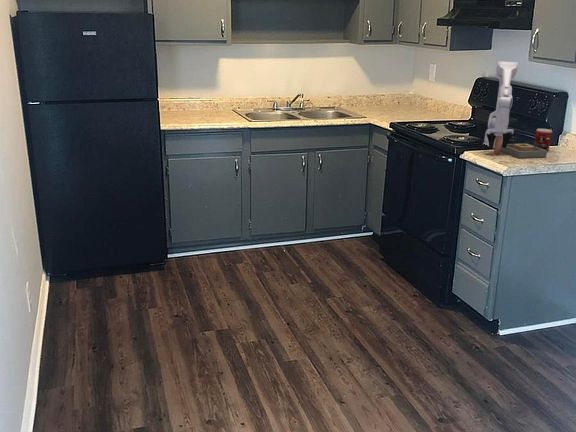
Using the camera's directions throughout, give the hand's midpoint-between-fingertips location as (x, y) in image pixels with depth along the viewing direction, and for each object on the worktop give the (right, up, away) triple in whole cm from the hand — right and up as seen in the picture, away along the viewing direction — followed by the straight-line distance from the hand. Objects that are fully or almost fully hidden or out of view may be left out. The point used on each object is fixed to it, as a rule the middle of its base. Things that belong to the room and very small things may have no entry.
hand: (497, 147), depth 296 cm
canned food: (+27, 0, +13) cm, 30 cm away
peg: (0, -3, +1) cm, 3 cm away
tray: (+14, -3, +3) cm, 15 cm away
